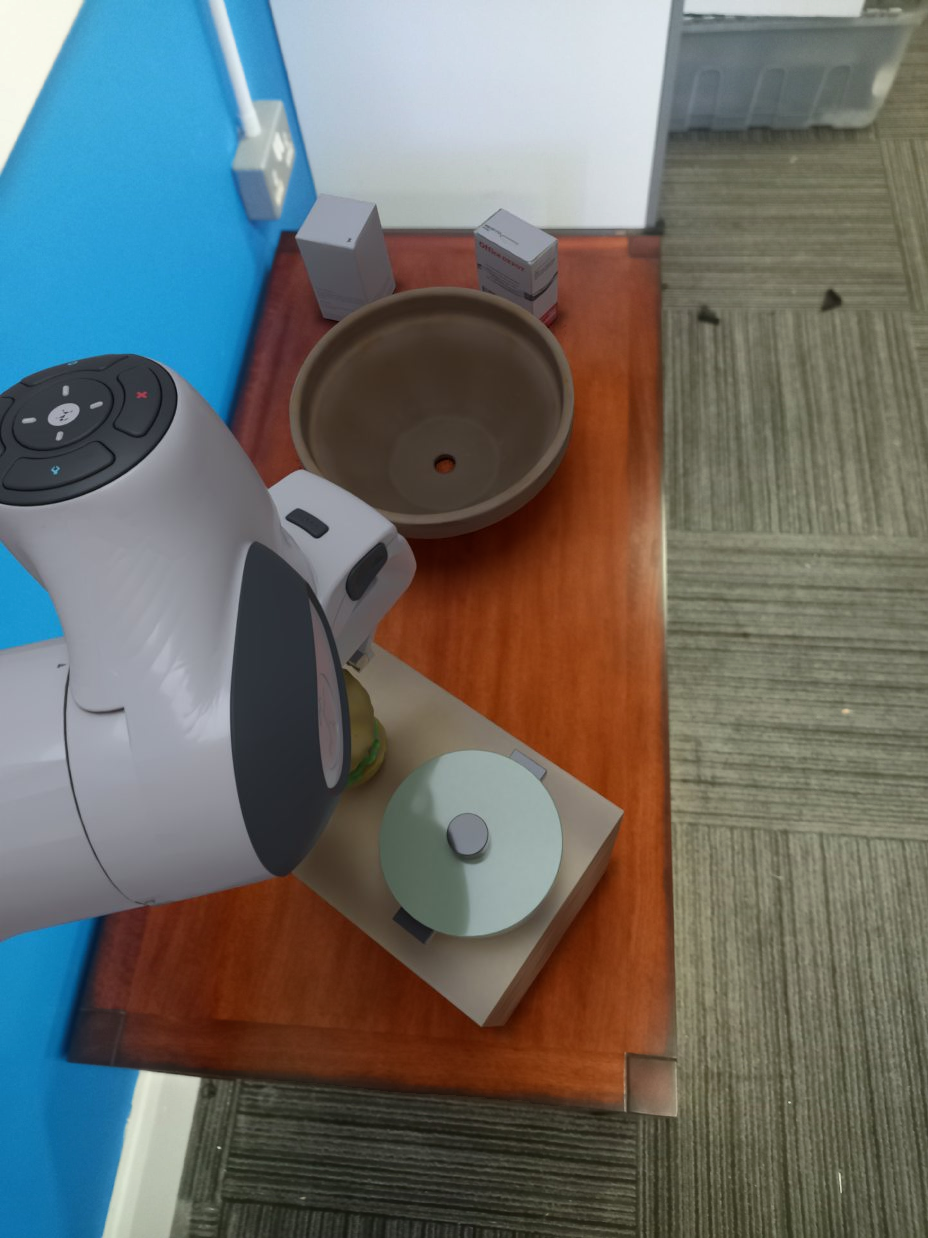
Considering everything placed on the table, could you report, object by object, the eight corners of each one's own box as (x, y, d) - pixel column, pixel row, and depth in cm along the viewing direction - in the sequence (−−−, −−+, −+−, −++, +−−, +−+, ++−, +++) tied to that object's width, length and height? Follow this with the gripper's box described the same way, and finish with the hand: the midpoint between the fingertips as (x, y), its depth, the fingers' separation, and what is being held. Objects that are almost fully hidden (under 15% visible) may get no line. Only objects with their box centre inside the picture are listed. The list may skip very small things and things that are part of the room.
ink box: (559, 316, 107) (559, 237, 96) (533, 342, 106) (530, 264, 95) (506, 284, 110) (500, 203, 99) (479, 308, 108) (470, 230, 98)
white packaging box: (397, 286, 111) (379, 201, 100) (374, 331, 109) (352, 249, 97) (344, 274, 113) (320, 190, 101) (320, 318, 110) (292, 236, 99)
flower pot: (531, 612, 91) (526, 550, 79) (280, 548, 97) (241, 482, 85) (602, 394, 101) (607, 310, 89) (372, 349, 107) (348, 265, 96)
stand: (503, 1026, 75) (481, 1027, 54) (302, 864, 83) (210, 807, 61) (607, 868, 80) (624, 811, 58) (407, 728, 87) (357, 630, 65)
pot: (490, 995, 54) (479, 990, 47) (356, 888, 58) (326, 868, 50) (602, 828, 58) (608, 799, 50) (468, 736, 61) (456, 697, 54)
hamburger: (413, 727, 62) (382, 664, 51) (371, 824, 59) (329, 780, 49) (315, 692, 64) (264, 624, 53) (270, 785, 61) (208, 734, 50)
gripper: (124, 848, 38) (232, 893, 50) (417, 502, 44) (449, 620, 56) (28, 765, 40) (155, 828, 52) (320, 445, 46) (372, 570, 58)
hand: (309, 718), depth 54 cm, fingers open, 8 cm apart
